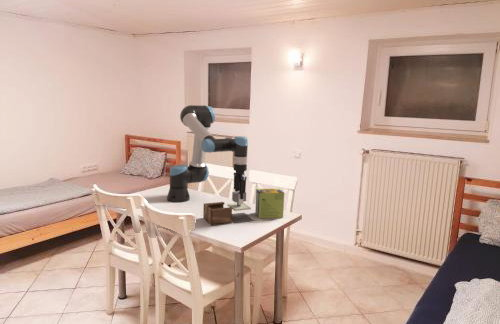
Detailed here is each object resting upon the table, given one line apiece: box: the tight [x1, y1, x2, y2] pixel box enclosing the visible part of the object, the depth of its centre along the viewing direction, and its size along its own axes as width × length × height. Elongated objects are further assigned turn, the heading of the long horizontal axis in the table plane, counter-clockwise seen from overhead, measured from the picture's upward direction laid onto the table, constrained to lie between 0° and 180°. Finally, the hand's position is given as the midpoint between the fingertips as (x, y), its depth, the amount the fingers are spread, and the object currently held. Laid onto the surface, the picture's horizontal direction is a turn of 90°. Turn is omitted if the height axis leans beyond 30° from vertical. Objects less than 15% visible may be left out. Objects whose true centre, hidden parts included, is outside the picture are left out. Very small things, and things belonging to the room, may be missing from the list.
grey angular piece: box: [227, 191, 252, 212], centre depth 205 cm, size 11×10×9 cm
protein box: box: [254, 188, 285, 219], centre depth 213 cm, size 10×15×16 cm
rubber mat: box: [232, 212, 255, 224], centre depth 208 cm, size 15×12×1 cm
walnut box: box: [202, 201, 233, 227], centre depth 201 cm, size 14×12×9 cm
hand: (239, 203), depth 206 cm, fingers closed on grey angular piece, 4 cm apart
